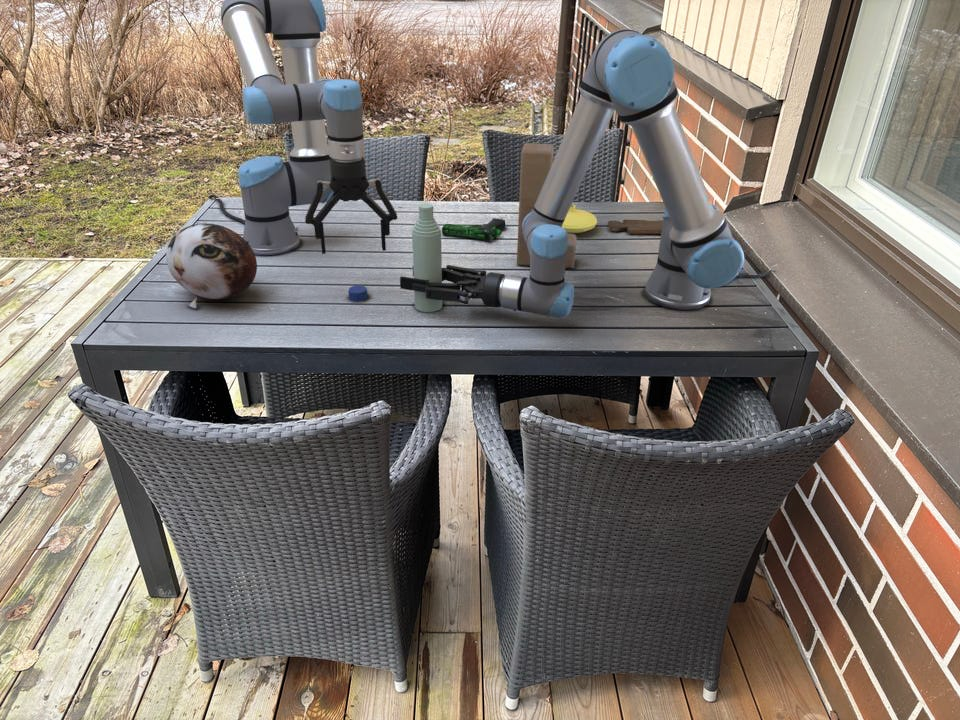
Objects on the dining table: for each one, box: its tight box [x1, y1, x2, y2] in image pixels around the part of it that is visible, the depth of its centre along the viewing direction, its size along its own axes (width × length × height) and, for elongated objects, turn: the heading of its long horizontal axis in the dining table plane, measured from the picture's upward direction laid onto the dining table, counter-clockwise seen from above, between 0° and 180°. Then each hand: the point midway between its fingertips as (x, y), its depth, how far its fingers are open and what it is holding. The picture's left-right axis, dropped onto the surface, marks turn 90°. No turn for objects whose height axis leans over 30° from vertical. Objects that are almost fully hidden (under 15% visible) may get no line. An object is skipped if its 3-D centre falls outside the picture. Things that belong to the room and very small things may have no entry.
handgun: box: [441, 217, 506, 242], centre depth 207 cm, size 16×3×15 cm
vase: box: [561, 203, 598, 234], centre depth 209 cm, size 16×16×7 cm
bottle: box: [411, 203, 443, 313], centre depth 160 cm, size 6×6×24 cm
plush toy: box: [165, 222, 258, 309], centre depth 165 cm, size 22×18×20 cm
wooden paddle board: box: [607, 219, 663, 235], centre depth 211 cm, size 26×2×10 cm
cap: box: [348, 284, 369, 302], centre depth 169 cm, size 4×4×2 cm
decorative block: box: [516, 142, 577, 269], centre depth 181 cm, size 8×15×30 cm, turn 82°
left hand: (354, 250), depth 164 cm, fingers open, 13 cm apart
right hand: (407, 276), depth 164 cm, fingers closed on bottle, 6 cm apart
